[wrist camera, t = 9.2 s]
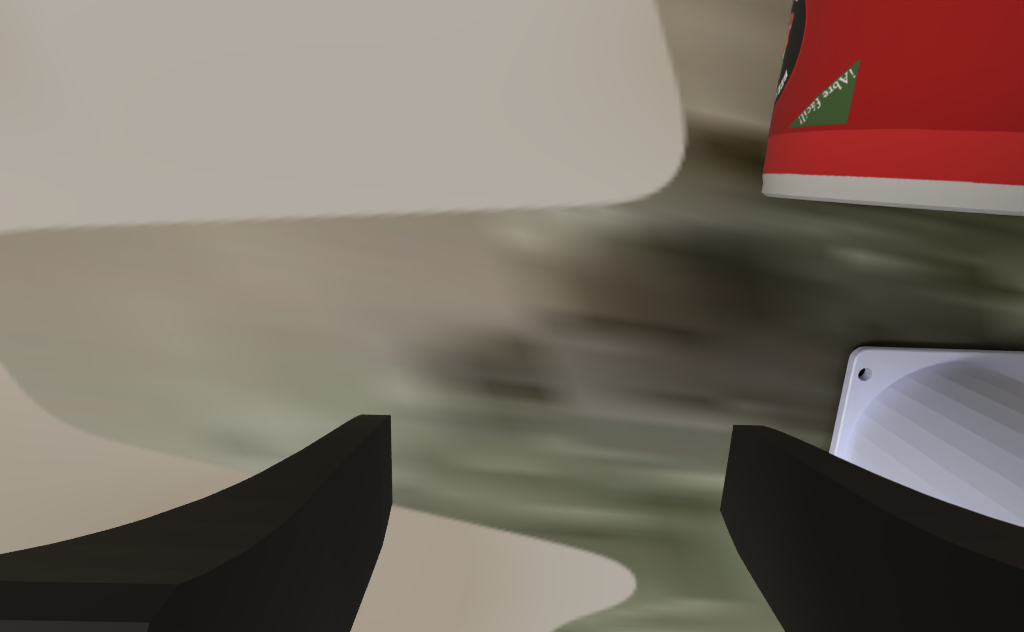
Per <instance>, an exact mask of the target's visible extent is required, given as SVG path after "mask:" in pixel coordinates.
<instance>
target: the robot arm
mask: <svg viewBox="0 0 1024 632" xmlns="http://www.w3.org/2000/svg"><path fill="white" fill-rule="evenodd" d="M863 368H865V373H864V374H863V375H862V376H861V377H858V373H859V371H860V370H862V369H863ZM391 506H392V457H391V415H359V416H357V417H355V418H353V419H351V420H350V421H348V422H346V423H345V424H343V425H341V426H340V427H338V428H336V429H335V430H333V431H332V432H330V433H328V434H327V435H325V436H324V437H322V438H320V439H319V440H317V441H315V442H314V443H312V444H311V445H309V446H307V447H306V448H304V449H302V450H301V451H299V452H297V453H295V454H293V455H292V456H290V457H288V458H286V459H284V460H283V461H281V462H279V463H277V464H275V465H273V466H272V467H270V468H268V469H266V470H264V471H263V472H261V473H259V474H257V475H255V476H253V477H251V478H248V479H246V480H244V481H242V482H240V483H238V484H236V485H233V486H231V487H229V488H226V489H224V490H222V491H219V492H217V493H215V494H212V495H210V496H208V497H205V498H203V499H200V500H197V501H194V502H191V503H189V504H186V505H183V506H180V507H177V508H174V509H172V510H169V511H166V512H163V513H160V514H158V515H155V516H152V517H149V518H146V519H143V520H139V521H136V522H133V523H129V524H126V525H122V526H119V527H116V528H112V529H109V530H105V531H101V532H97V533H94V534H90V535H86V536H82V537H78V538H74V539H70V540H66V541H62V542H57V543H53V544H49V545H44V546H39V547H34V548H29V549H24V550H19V551H14V552H9V553H5V554H0V632H350V631H351V628H352V625H353V622H354V620H355V618H356V615H357V612H358V609H359V607H360V604H361V602H362V599H363V596H364V594H365V591H366V588H367V586H368V583H369V581H370V578H371V575H372V573H373V570H374V567H375V564H376V562H377V559H378V556H379V554H380V551H381V548H382V545H383V541H384V537H385V533H386V529H387V525H388V520H389V515H390V511H391ZM720 511H721V513H722V516H723V519H724V521H725V524H726V526H727V529H728V531H729V534H730V536H731V538H732V540H733V543H734V545H735V547H736V549H737V552H738V554H739V555H740V557H741V559H742V560H743V562H744V564H745V566H746V567H747V569H748V571H749V572H750V574H751V576H752V577H753V579H754V581H755V583H756V584H757V586H758V588H759V589H760V591H761V593H762V594H763V596H764V597H765V599H766V601H767V602H768V604H769V606H770V607H771V609H772V611H773V612H774V614H775V616H776V617H777V619H778V621H779V622H780V624H781V625H782V627H783V629H784V630H785V632H1024V351H994V350H963V349H932V348H901V347H870V346H863V347H859V348H857V349H855V350H854V351H853V352H852V353H851V355H850V357H849V361H848V366H847V370H846V375H845V380H844V385H843V389H842V394H841V399H840V404H839V408H838V413H837V418H836V423H835V428H834V432H833V437H832V442H831V447H830V451H829V453H828V452H826V451H824V450H822V449H820V448H817V447H815V446H813V445H811V444H808V443H806V442H804V441H802V440H800V439H797V438H795V437H793V436H790V435H788V434H785V433H783V432H780V431H778V430H775V429H772V428H769V427H765V426H755V425H733V432H732V438H731V444H730V451H729V457H728V463H727V470H726V476H725V482H724V489H723V495H722V501H721V508H720Z"/></svg>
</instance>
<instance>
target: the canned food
mask: <svg viewBox="0 0 1024 632" xmlns="http://www.w3.org/2000/svg"><path fill="white" fill-rule="evenodd" d="M762 176H763V187H762V192H761V193H763V194H764V195H766V196H769V197H779V198H790V199H802V200H814V201H826V202H839V203H852V204H864V205H878V206H891V207H904V208H917V209H931V210H945V211H959V212H972V213H987V214H1001V215H1015V216H1024V0H793V4H792V10H791V15H790V21H789V26H788V32H787V37H786V43H785V48H784V54H783V59H782V65H781V70H780V76H779V81H778V87H777V92H776V98H775V103H774V109H773V114H772V120H771V125H770V130H769V136H768V144H767V152H766V157H765V163H764V169H763V174H762Z"/></svg>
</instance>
